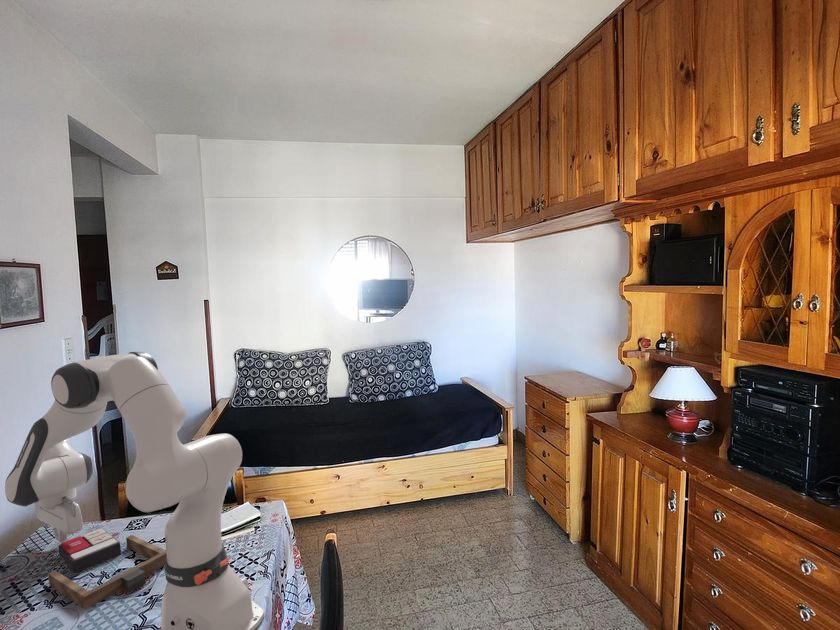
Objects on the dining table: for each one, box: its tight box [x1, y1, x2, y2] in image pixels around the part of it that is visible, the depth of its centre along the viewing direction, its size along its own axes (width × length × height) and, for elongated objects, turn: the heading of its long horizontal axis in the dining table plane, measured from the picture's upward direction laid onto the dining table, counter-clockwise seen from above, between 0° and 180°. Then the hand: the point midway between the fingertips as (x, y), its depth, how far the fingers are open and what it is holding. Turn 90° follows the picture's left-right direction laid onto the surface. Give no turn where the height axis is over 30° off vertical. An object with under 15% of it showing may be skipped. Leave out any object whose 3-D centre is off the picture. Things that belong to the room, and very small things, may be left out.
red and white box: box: [57, 527, 122, 575], centre depth 128 cm, size 11×4×15 cm
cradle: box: [48, 534, 167, 610], centre depth 117 cm, size 22×20×3 cm
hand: (61, 539), depth 132 cm, fingers closed
